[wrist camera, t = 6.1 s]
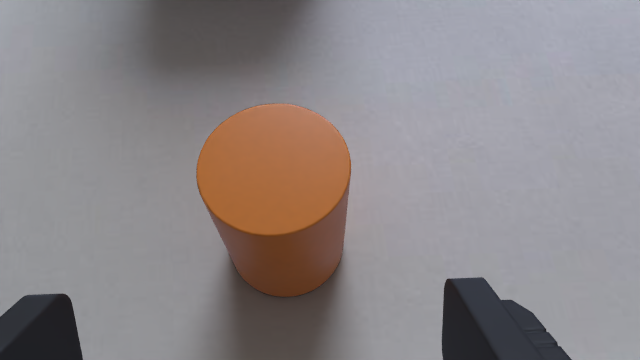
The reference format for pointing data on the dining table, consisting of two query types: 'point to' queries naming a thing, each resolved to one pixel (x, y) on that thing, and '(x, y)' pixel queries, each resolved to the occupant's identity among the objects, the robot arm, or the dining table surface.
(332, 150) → the orange tin
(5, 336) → the robot arm
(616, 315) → the dining table surface
